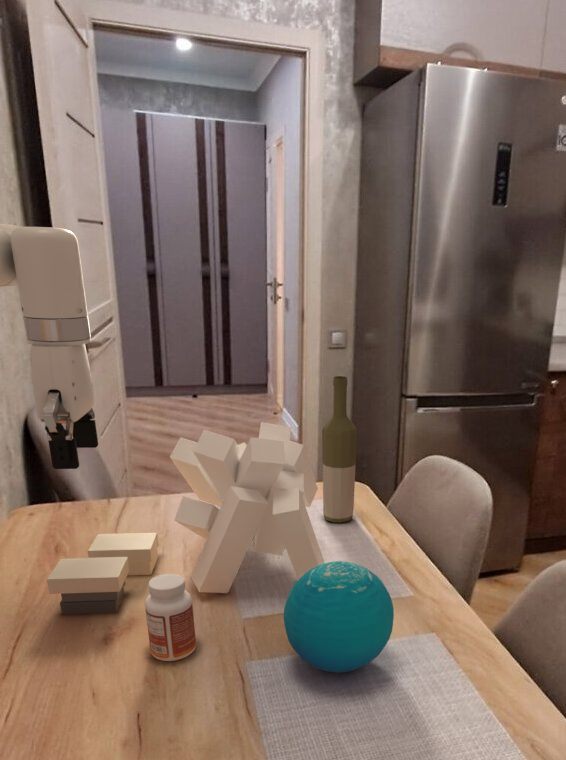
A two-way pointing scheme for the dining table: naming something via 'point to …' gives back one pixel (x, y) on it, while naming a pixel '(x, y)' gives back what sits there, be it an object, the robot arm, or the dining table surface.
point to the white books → (128, 550)
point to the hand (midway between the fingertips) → (77, 457)
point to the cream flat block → (88, 575)
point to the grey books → (91, 602)
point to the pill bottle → (170, 618)
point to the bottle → (339, 458)
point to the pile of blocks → (247, 502)
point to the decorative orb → (338, 616)
